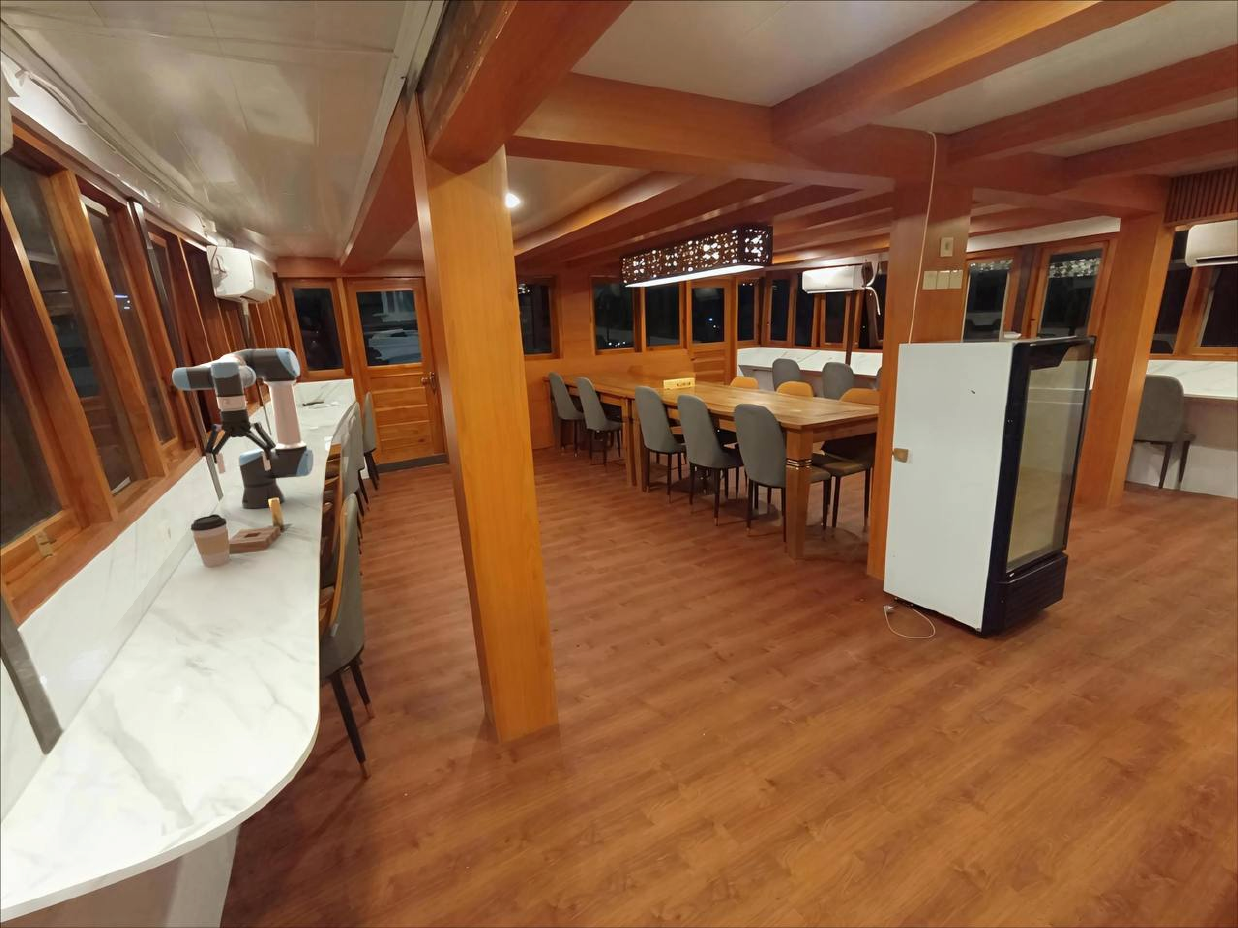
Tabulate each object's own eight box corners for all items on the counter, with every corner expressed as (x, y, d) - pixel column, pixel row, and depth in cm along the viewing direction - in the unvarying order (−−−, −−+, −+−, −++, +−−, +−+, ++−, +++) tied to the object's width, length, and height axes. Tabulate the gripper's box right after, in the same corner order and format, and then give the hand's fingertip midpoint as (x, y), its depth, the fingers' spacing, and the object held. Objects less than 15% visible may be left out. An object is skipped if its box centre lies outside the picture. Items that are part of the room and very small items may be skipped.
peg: (276, 528, 195) (270, 497, 192) (285, 527, 196) (279, 497, 193) (272, 531, 192) (266, 500, 190) (282, 530, 193) (276, 499, 190)
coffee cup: (220, 568, 164) (210, 522, 160) (192, 568, 164) (181, 523, 161) (241, 556, 173) (232, 512, 169) (214, 556, 173) (204, 513, 169)
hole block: (243, 538, 187) (241, 529, 186) (280, 535, 190) (279, 526, 189) (225, 554, 174) (223, 544, 173) (266, 550, 177) (264, 540, 176)
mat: (268, 526, 199) (268, 525, 199) (292, 524, 201) (292, 523, 201) (258, 536, 189) (258, 535, 189) (283, 533, 191) (283, 532, 191)
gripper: (183, 412, 168) (197, 476, 173) (271, 408, 174) (282, 470, 179) (195, 409, 175) (208, 471, 180) (279, 405, 181) (290, 465, 186)
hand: (245, 471), depth 180 cm, fingers open, 13 cm apart
